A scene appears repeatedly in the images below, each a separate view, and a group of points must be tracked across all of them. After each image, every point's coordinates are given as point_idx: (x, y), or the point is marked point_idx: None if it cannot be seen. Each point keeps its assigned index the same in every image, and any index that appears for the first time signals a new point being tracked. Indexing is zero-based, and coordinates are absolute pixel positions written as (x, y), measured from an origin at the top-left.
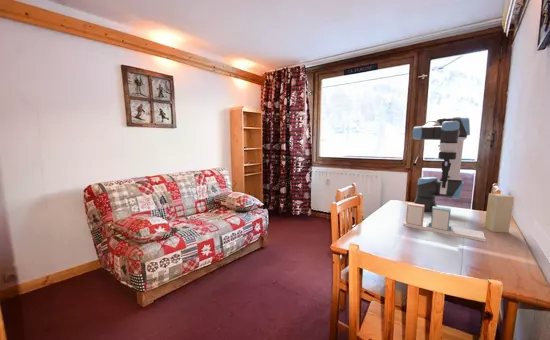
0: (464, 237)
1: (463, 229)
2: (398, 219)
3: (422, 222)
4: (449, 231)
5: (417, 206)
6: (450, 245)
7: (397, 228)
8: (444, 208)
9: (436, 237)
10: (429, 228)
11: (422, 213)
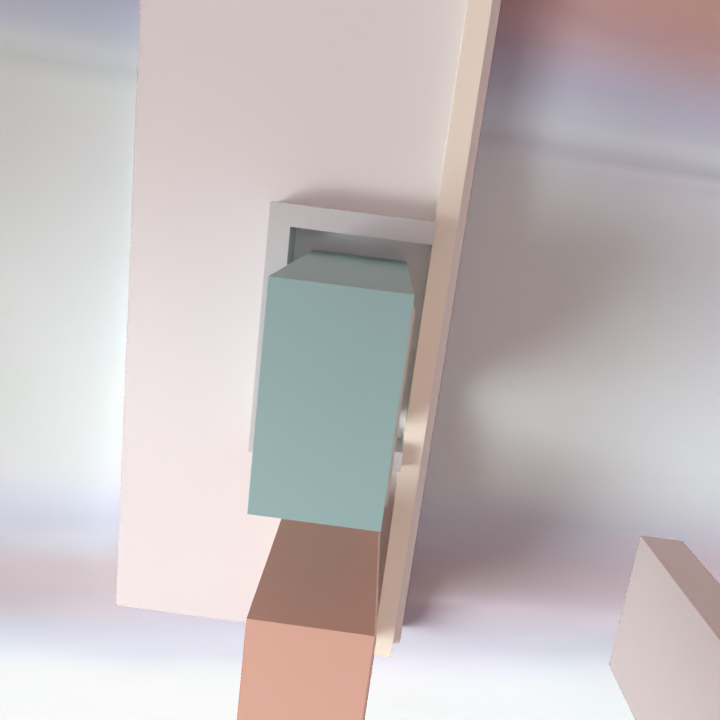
0: (480, 120)
1: (184, 86)
2: (138, 660)
3: None
4: (434, 256)
5: (365, 700)
6: (691, 268)
7: (438, 666)
8: (317, 369)
9: (521, 365)
10: (423, 435)
11: (377, 582)
